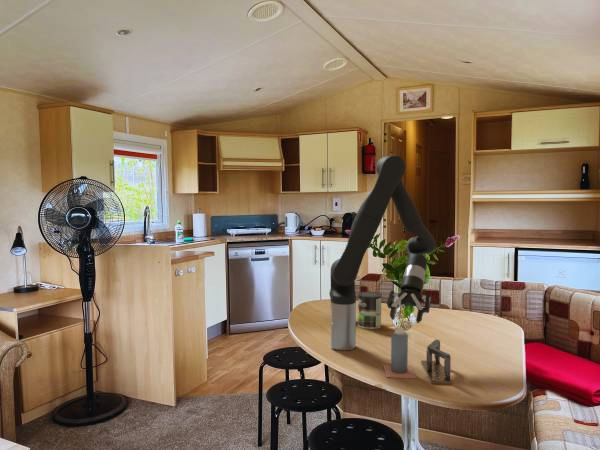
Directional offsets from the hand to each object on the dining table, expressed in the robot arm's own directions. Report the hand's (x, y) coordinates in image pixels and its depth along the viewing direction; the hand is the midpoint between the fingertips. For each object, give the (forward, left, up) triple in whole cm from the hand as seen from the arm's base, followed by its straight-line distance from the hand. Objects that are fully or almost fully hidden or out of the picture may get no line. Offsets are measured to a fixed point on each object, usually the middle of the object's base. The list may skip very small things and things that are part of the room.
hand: (405, 320), depth 157 cm
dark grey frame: (+9, -7, -15) cm, 19 cm away
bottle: (-3, -7, -15) cm, 17 cm away
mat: (-3, -7, -15) cm, 17 cm away
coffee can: (-8, +45, -15) cm, 48 cm away
